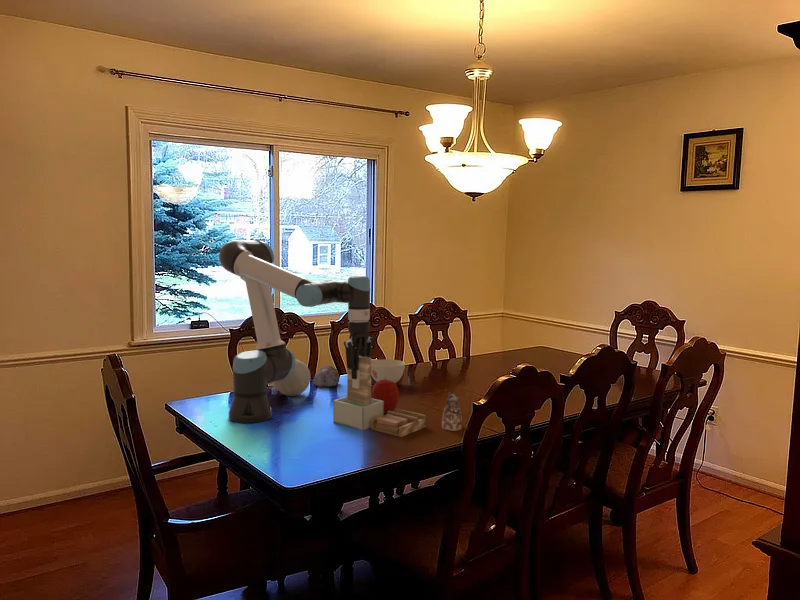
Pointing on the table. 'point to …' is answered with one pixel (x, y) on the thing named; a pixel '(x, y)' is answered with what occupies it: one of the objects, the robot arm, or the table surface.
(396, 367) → the bowl
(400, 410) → the oak rack
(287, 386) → the decorative sphere
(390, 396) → the red ovoid
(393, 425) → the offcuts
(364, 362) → the birch sheet
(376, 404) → the box
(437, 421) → the table surface
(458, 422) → the figurine
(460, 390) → the table surface
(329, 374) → the rock
